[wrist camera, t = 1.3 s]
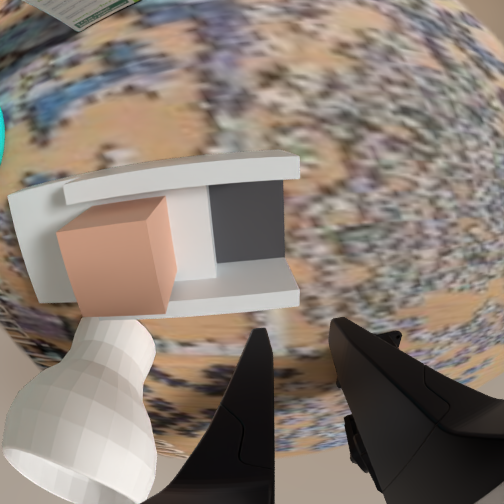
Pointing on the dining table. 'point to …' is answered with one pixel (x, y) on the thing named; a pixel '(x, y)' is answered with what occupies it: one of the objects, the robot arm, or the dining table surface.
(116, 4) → the syrup box
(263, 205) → the grey channel
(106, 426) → the cup
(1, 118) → the donuts
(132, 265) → the terracotta cube
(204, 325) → the dining table surface
